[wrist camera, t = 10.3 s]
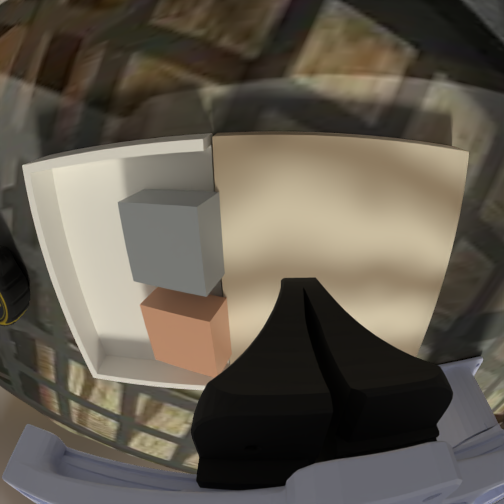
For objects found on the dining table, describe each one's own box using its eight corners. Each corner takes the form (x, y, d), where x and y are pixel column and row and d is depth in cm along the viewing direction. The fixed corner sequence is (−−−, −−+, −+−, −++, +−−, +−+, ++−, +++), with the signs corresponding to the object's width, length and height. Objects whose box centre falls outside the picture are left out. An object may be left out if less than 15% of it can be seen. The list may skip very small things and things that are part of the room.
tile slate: (224, 273, 19) (206, 296, 16) (155, 262, 20) (133, 281, 18) (219, 192, 16) (196, 206, 14) (144, 189, 18) (117, 202, 16)
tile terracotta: (231, 354, 22) (218, 378, 20) (172, 338, 23) (155, 359, 21) (226, 297, 19) (209, 322, 17) (160, 284, 21) (139, 304, 19)
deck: (403, 354, 24) (410, 370, 23) (233, 363, 25) (231, 381, 23) (452, 146, 16) (469, 151, 15) (217, 132, 17) (212, 136, 15)
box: (230, 363, 25) (227, 391, 22) (105, 354, 25) (93, 377, 23) (212, 133, 17) (202, 138, 14) (48, 155, 17) (22, 165, 15)
